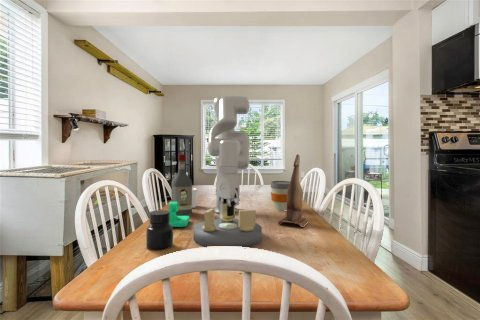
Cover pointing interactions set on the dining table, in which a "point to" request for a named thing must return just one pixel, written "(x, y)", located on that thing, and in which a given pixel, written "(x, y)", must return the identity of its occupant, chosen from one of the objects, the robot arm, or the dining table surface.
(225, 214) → the footscrew knob
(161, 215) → the ink bottle
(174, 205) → the camera mount
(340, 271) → the dining table surface
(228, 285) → the dining table surface
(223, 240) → the tribrach base
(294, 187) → the bird sculpture
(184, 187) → the liquor
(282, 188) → the reusable coffee cup
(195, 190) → the white cup
